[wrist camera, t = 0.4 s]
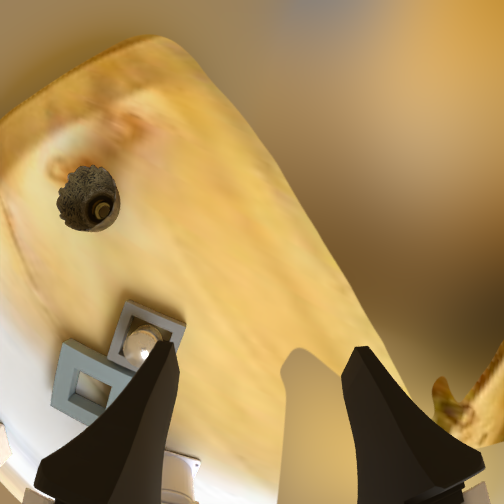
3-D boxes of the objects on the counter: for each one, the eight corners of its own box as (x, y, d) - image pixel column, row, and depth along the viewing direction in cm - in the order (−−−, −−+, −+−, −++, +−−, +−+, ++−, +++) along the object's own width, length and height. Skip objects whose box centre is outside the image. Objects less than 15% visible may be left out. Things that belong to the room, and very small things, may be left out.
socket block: (120, 429, 31) (116, 438, 29) (58, 397, 30) (50, 405, 27) (138, 371, 33) (134, 378, 30) (71, 338, 31) (62, 342, 29)
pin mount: (166, 377, 34) (165, 383, 31) (111, 353, 33) (106, 358, 30) (186, 323, 35) (186, 327, 33) (129, 299, 34) (125, 301, 31)
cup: (110, 250, 34) (90, 243, 26) (71, 222, 33) (45, 209, 25) (140, 202, 35) (128, 183, 27) (100, 176, 34) (82, 154, 26)
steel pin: (156, 358, 34) (151, 373, 28) (129, 346, 33) (118, 359, 27) (166, 331, 35) (162, 342, 29) (138, 319, 34) (129, 327, 28)
